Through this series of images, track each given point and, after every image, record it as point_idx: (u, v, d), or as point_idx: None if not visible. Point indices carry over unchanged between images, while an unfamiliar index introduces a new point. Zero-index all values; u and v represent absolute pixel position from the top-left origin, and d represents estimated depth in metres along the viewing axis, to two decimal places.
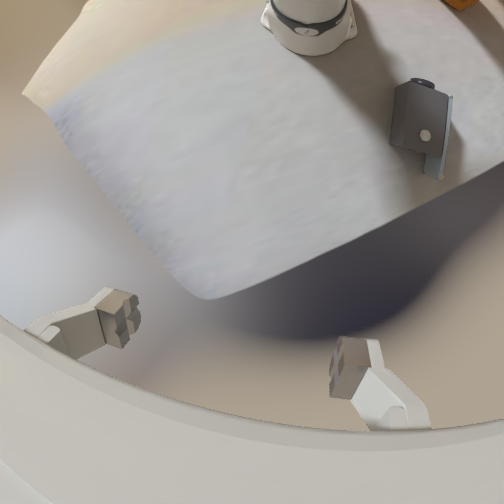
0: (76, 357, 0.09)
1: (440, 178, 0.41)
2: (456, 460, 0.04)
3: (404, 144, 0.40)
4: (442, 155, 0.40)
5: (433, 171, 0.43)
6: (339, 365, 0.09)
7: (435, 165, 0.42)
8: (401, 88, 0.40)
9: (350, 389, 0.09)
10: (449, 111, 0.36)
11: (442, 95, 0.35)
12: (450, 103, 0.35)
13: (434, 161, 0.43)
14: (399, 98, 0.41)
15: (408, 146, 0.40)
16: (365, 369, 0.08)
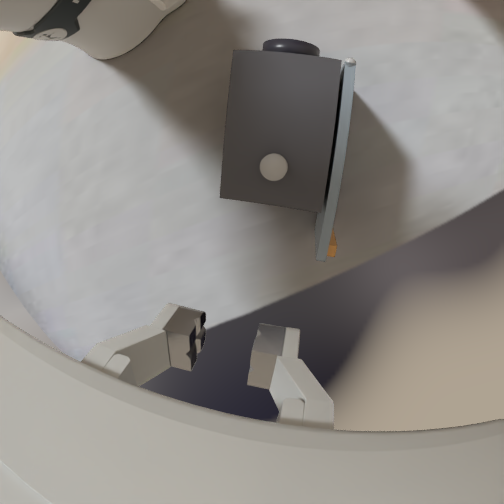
0: (137, 383, 0.09)
1: (322, 257, 0.23)
2: (456, 460, 0.04)
3: (225, 193, 0.22)
4: (327, 207, 0.21)
5: (317, 236, 0.25)
6: None
7: (320, 225, 0.24)
8: None
9: (265, 378, 0.09)
10: (346, 99, 0.18)
11: (325, 63, 0.17)
12: (349, 79, 0.17)
13: (321, 215, 0.24)
14: None
15: (235, 197, 0.22)
16: (275, 357, 0.08)
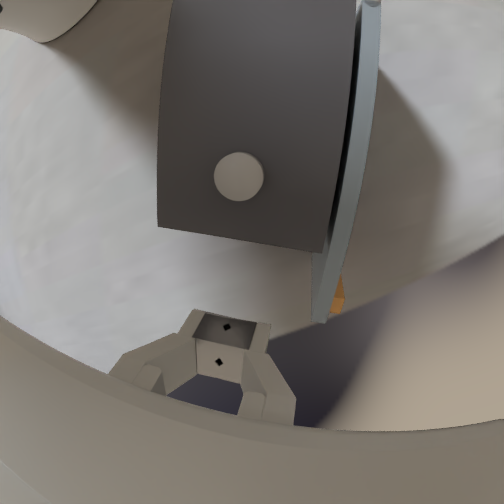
0: None
1: (321, 318, 0.14)
2: (456, 460, 0.04)
3: (165, 220, 0.13)
4: (332, 243, 0.13)
5: (315, 278, 0.16)
6: None
7: (319, 263, 0.15)
8: None
9: (235, 372, 0.09)
10: (368, 56, 0.09)
11: None
12: (371, 25, 0.08)
13: None
14: None
15: (180, 225, 0.13)
16: (243, 351, 0.09)
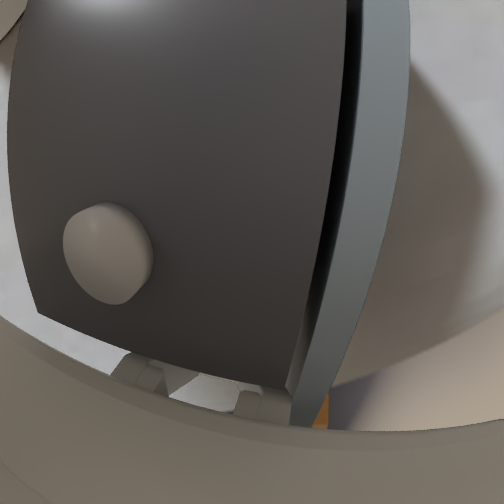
0: None
1: None
2: (456, 460, 0.04)
3: (42, 306, 0.07)
4: None
5: (286, 382, 0.10)
6: None
7: (291, 369, 0.09)
8: None
9: None
10: None
11: None
12: None
13: (297, 340, 0.09)
14: None
15: (59, 317, 0.07)
16: None
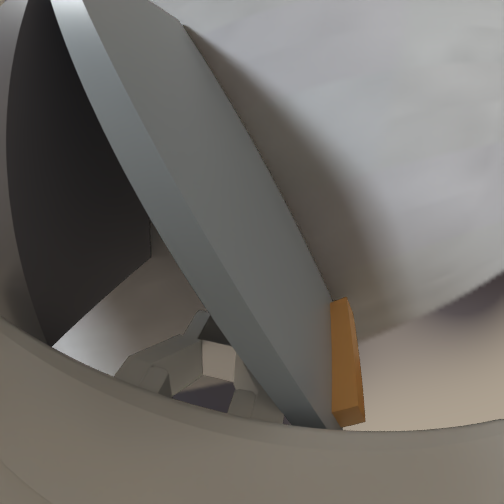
0: None
1: None
2: (456, 460, 0.04)
3: None
4: (251, 361, 0.06)
5: None
6: None
7: None
8: None
9: (228, 370, 0.09)
10: (71, 23, 0.03)
11: (10, 6, 0.03)
12: None
13: None
14: None
15: None
16: None
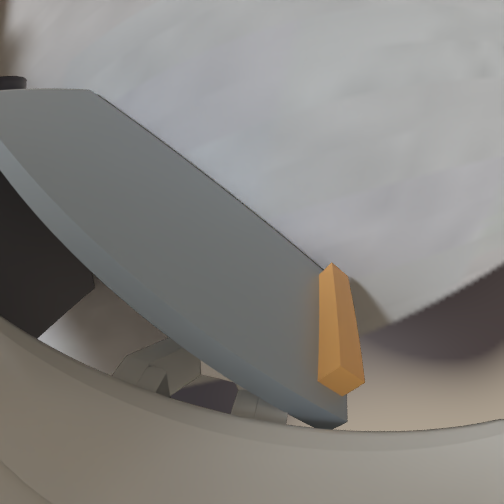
0: None
1: (330, 422, 0.06)
2: (456, 460, 0.04)
3: None
4: None
5: None
6: None
7: None
8: None
9: None
10: None
11: None
12: None
13: None
14: None
15: None
16: None
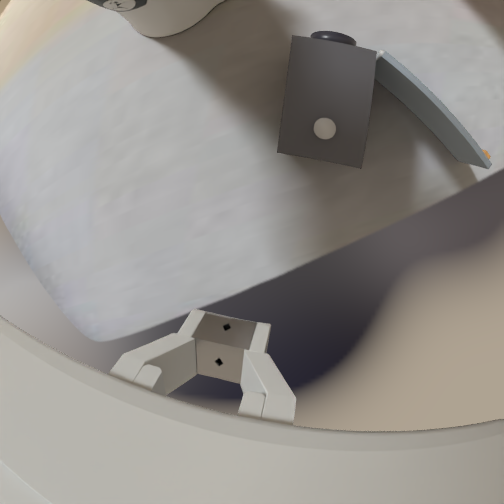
0: None
1: (489, 164, 0.21)
2: (456, 460, 0.04)
3: (282, 149, 0.25)
4: (464, 137, 0.21)
5: (471, 159, 0.23)
6: None
7: (467, 151, 0.23)
8: None
9: (235, 372, 0.09)
10: (407, 74, 0.20)
11: (364, 52, 0.20)
12: (395, 63, 0.20)
13: (460, 146, 0.23)
14: None
15: (290, 152, 0.25)
16: (243, 351, 0.09)
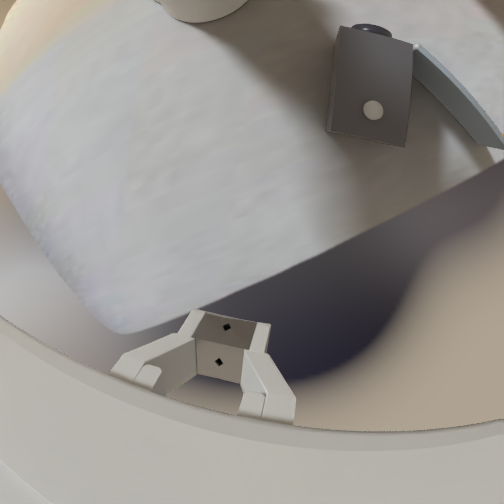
0: None
1: None
2: (456, 460, 0.04)
3: (335, 127, 0.26)
4: (487, 122, 0.21)
5: (491, 142, 0.24)
6: None
7: (488, 135, 0.23)
8: (336, 43, 0.25)
9: (235, 372, 0.09)
10: (439, 66, 0.20)
11: (402, 45, 0.20)
12: (428, 55, 0.20)
13: (482, 130, 0.24)
14: (334, 59, 0.26)
15: (343, 130, 0.26)
16: (243, 351, 0.09)
